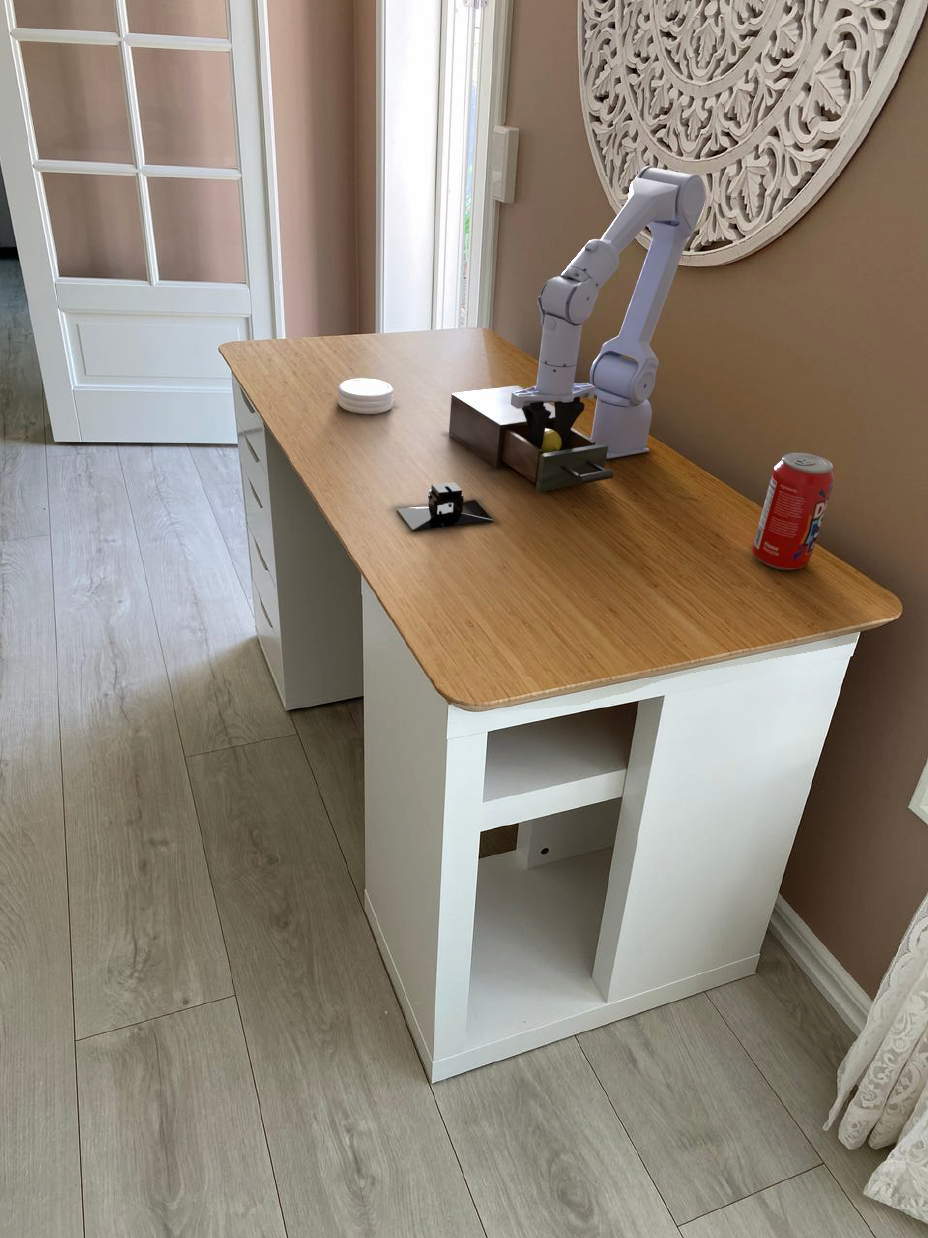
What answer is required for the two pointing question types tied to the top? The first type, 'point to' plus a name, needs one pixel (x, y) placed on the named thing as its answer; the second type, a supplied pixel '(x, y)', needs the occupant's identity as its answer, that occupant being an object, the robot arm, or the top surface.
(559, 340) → the robot arm
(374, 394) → the coaster
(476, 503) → the black block on plate
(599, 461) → the drawer
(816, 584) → the top surface
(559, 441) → the lemon
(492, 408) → the cabinet
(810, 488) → the soda can
